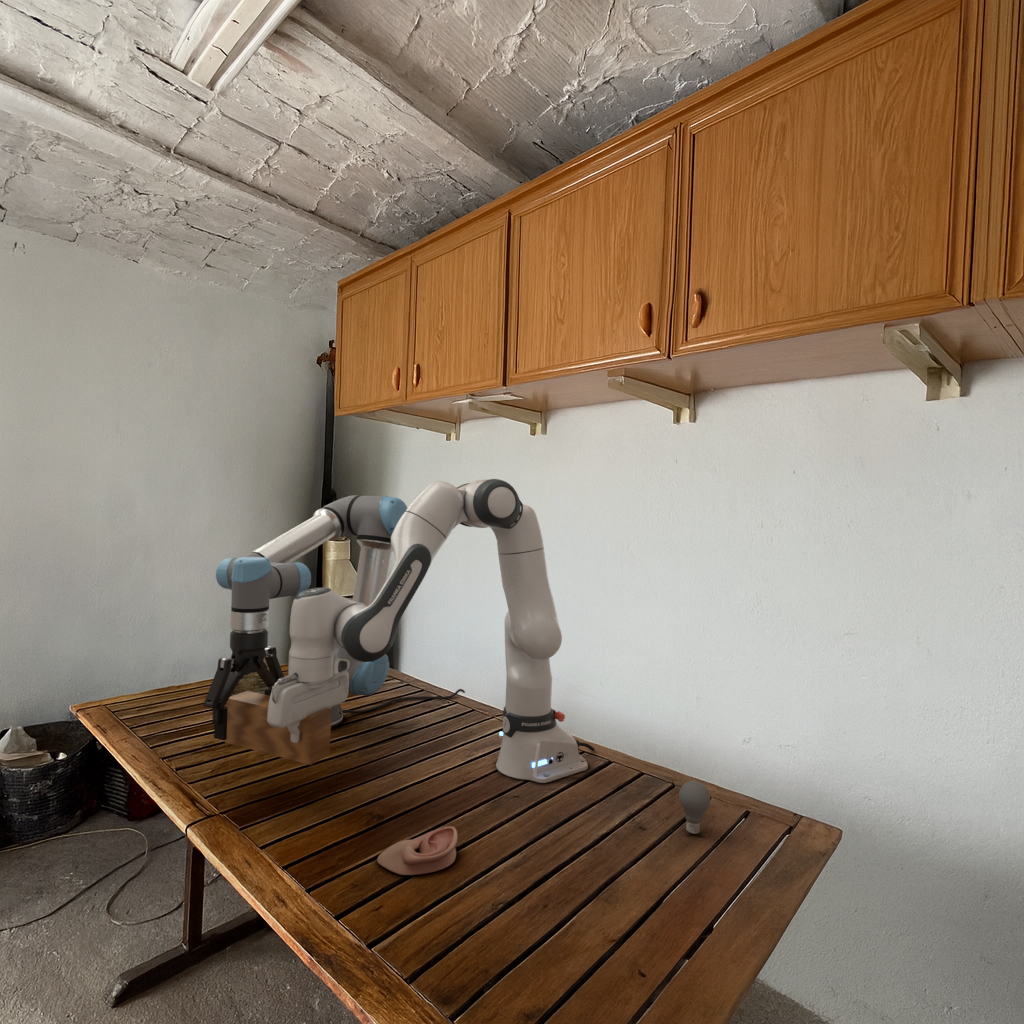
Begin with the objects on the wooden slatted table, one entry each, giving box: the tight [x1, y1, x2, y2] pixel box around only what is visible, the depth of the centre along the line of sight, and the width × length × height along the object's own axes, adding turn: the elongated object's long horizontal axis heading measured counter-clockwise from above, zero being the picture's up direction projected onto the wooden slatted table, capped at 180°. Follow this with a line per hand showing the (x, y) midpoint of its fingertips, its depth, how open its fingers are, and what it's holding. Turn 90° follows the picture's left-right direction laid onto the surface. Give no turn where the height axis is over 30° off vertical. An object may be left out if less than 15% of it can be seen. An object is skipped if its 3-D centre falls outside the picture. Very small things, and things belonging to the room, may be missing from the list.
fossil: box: [229, 654, 269, 696], centre depth 198 cm, size 9×18×15 cm, turn 132°
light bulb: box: [678, 780, 711, 835], centre depth 125 cm, size 6×6×10 cm
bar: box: [224, 691, 332, 766], centre depth 133 cm, size 23×6×10 cm, turn 66°
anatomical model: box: [376, 826, 459, 876], centre depth 112 cm, size 13×4×12 cm
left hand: (245, 728), depth 136 cm, fingers open, 13 cm apart
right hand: (309, 735), depth 129 cm, fingers closed on bar, 6 cm apart
